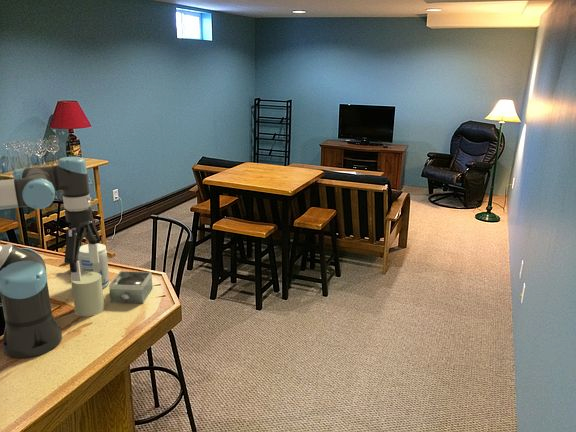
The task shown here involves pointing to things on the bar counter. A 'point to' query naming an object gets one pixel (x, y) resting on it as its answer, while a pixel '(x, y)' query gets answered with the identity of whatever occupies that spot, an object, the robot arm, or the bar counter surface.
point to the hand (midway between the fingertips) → (86, 271)
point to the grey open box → (130, 287)
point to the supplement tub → (94, 267)
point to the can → (88, 294)
